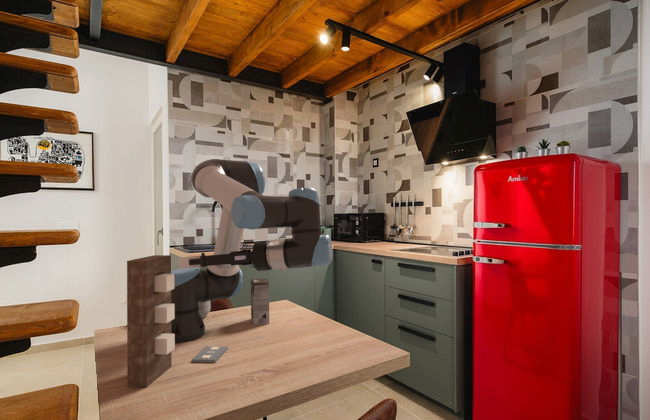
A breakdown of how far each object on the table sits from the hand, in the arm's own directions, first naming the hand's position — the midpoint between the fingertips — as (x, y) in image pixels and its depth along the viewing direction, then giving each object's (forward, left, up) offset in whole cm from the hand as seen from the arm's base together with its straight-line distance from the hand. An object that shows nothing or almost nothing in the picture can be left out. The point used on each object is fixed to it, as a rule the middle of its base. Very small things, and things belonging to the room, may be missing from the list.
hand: (194, 261), depth 93 cm
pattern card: (-10, -10, -30) cm, 33 cm away
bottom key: (+6, -6, -23) cm, 25 cm away
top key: (+6, -6, -7) cm, 11 cm away
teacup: (-27, -52, -30) cm, 66 cm away
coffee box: (-40, -27, -30) cm, 57 cm away
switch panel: (+8, -9, -30) cm, 32 cm away
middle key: (+6, -6, -15) cm, 17 cm away
